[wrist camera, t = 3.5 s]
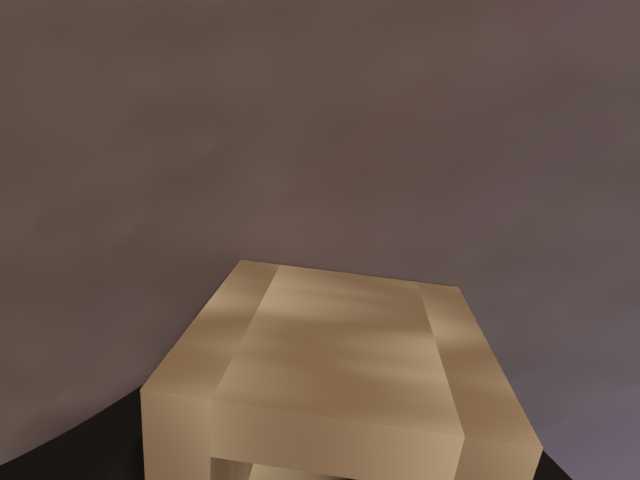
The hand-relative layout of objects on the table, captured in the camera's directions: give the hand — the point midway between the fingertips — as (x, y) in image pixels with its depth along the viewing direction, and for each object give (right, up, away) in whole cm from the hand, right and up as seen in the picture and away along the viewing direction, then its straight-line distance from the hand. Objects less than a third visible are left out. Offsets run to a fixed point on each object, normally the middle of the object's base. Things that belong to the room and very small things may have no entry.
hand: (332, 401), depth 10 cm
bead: (0, 0, +1) cm, 1 cm away
